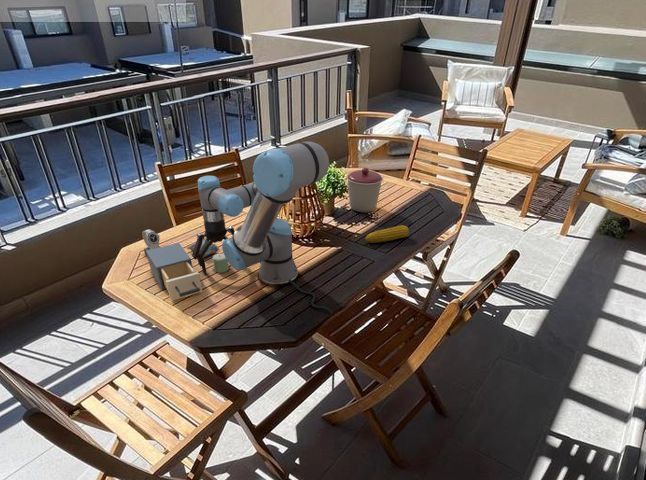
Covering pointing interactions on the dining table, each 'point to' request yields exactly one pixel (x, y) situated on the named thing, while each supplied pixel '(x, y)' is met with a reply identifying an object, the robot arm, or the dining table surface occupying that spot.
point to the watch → (150, 240)
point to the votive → (220, 263)
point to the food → (388, 234)
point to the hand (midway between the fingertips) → (221, 267)
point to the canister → (364, 189)
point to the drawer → (180, 280)
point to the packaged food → (211, 250)
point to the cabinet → (166, 259)
